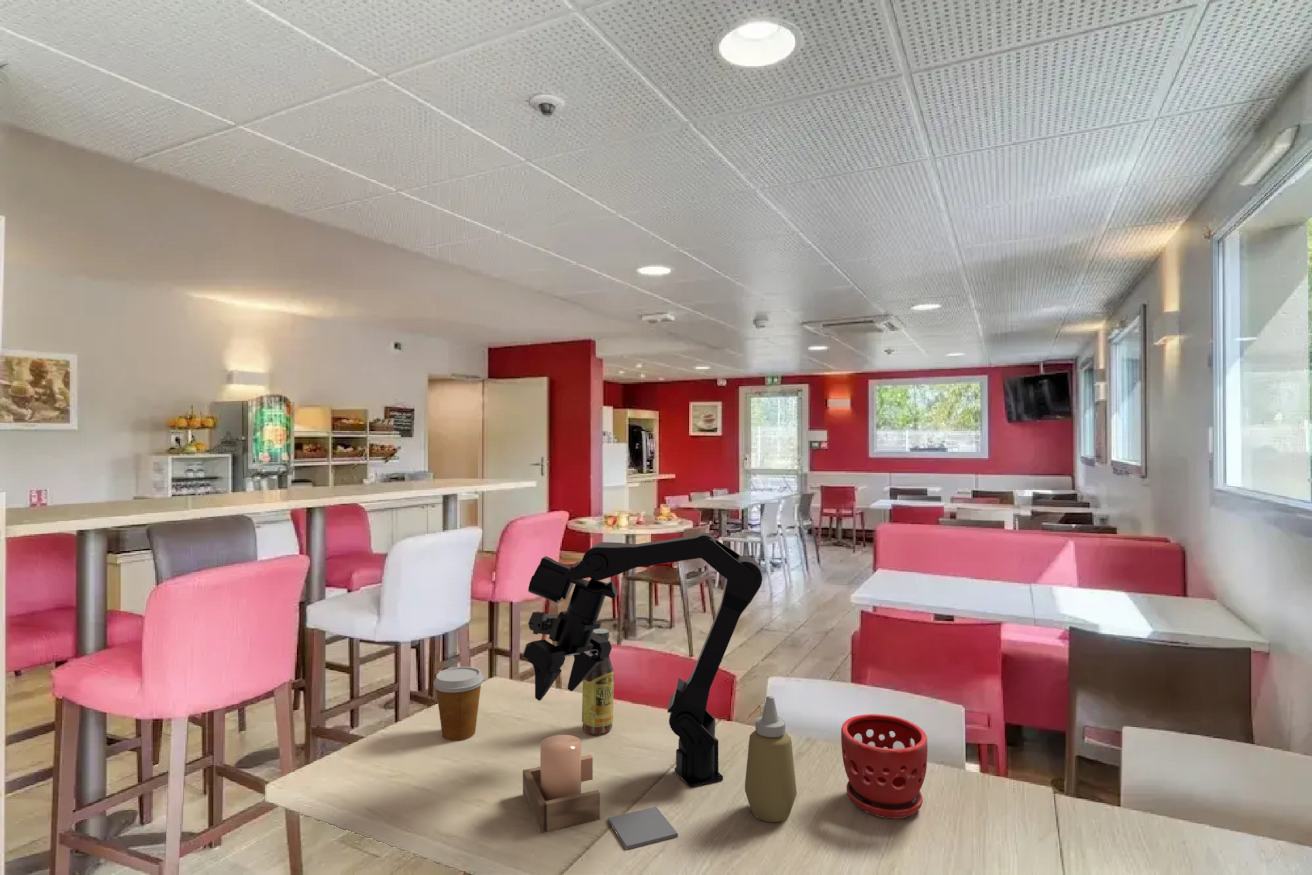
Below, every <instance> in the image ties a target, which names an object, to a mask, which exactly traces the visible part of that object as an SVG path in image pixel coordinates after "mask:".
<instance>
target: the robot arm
mask: <svg viewBox="0 0 1312 875" xmlns="http://www.w3.org/2000/svg"><path fill="white" fill-rule="evenodd" d="M696 559H702V560H703V561H704V562H706V563H707V564H708V566H710V567H711V568H712V569H713V570H715V571H716V572H717V573H718V574H719V575H721V576H722V577H723V578H725V582H724V586H723V592H722V596H721V602H720V604H719V607H718V609H717V612H716V614H715V617H714V619H713V621H712V624H711V626H710V629H709V631H708V634H707V635H706V639H705V641H704V644H703V645H702V648H701V651H700V653H699V655H698V658H697V660H696V663H695V664H694V667H693V670H692V672H691V674H690V676H688V677H687V679H686V680H685V681H684V680H682V679H681V678H679V677H678V680H677V683H676V688H675V690H674V691H673V692H674V693H672V695H671V696H670V698H669V701H668V702H669V703H668V707H667V714H668V713H669V718H668V724H669V728H670V729H671V731H672V732H673V734H675V735H676V736H678V748H676V751H675V767H674V772H675V773H676V774H677V775H678V777H680V779H682V780H683V782H684V783H685V784H686V785H687V786H688V787H689V788H692V787H693V788H694V787H697V786H702V785H706V784H710V783H711V784H712V783H714V782H715V783H716V782H719V781H723V780H724V776H723V775H722V774H721V772H719V739H717V738H716V718H715V717H714V716H713V715H712V714H711V713H710V712H709V711H708V710H707V705H708V701H709V696H710V691H711V686H712V684H713V682H714V680H715V678H716V676H717V673H718V670H719V669H720V666H721V663H722V661H723V658H724V656H725V653H726V650H727V649H728V647H729V646H728V645H729V644H730V641H731V639H732V636H733V634H734V632H735V630H736V627H737V625H738V622H739V620H740V617H741V616H742V614H743V612H745V610H746V609H747V607H749V605H750V604H751V602H752V601H753V599H754V597H755V596H756V595H757V593H758V591H759V590H760V588H761V586H762V583H763V574H762V570H761V567H760V565H759V563H758V561H757V560H755V559H754V558H753V557H751V556H748V555H740V554H739V553H737V552H736V551H735V550H733V549H732V548H731V547H729V546H727V545H726V544H724V543H723V542H721V541H719V540H718V539H716V538H715V537H714V536H713V535H712V534H711V533H708V532H701V533H698V534H695V535H688V536H683V537H682V536H681V537H675V538H668V539H662V540H654V541H649V542H648V541H647V542H642V543H626V542H614V541H613V542H610V541H607V542H605V541H602V542H598V543H596V544H594V545H593V546H592V547H590V548H589V549H587V550H586V551H585V553H584V554H583V556H582V559H581V560H580V561H576V562H575V563H573V565H571V566H570V565H568V564H565V563H561V562H559V561H556V560H554V559H553V558H551V557H549V556H547V555H546V556H543V557H542V558H541V560H540V563H539V564H538V566H537V568H536V570H535V571H534V573H533V575H532V576H531V578H530V581H529V585H528V588H527V590H528V591H527V592H528V593H530V594H533V595H536V596H538V597H541V598H544V599H546V600H548V601H551V602H554V603H556V604H559V603H560V602H561V600H562V599H563V600H565V601H566V600H568V598H569V595H570V593H571V591H572V588H573V591H572V594H571V596H570V599H569V602H568V605H567V608H566V610H563V611H560V612H559V613H558V614H552V613H551V614H550V613H546V611H541V612H540V611H533V612H532V613H531V615H530V618H529V620H528V622H527V625H528V628H529V630H530V631H532V634H533V635H540V634H541V635H549V636H548V640H551V641H552V642H555V643H556V645H554V644H553V643H551V642H549V641H547V640H546V639H544V638H543V639H539V640H533V641H530V642H528V643H526V645H525V646H524V649H523V653H522V657H524V658H525V659H526V660H527V662H529V663H530V664H531V665H532V666H533V670H534V689H535V690H534V697H535V699H536V700H537V701H539V702H540V701H542V700H543V698H544V697H545V696H546V694H547V693H548V691H549V690H550V688H552V686H553V684H554V682H555V681H556V680H557V678H558V677H559V676H560V674H561V673H562V669H561V668H562V667H563V666H564V664H565V660H566V657H572V656H573V659H574V660H573V664H572V667H571V671H570V675H569V678H568V682H567V690H568V691H570V692H573V691H575V689H576V688H577V687H578V686H579V685H580V684H581V683H583V680H584V679H585V678H586V677H587V676H588V675H589V674H590V673H591V672H592V671H593V670H594V669H595V668H596V667H597V666H598V665H599V664H600V663H601V662H603V661H604V658H608V657H610V655H611V652H612V645H611V642H610V641H609V639H608V640H606V639H605V638H603V637H601V636H600V635H598V634H596V633H594V632H593V631H594V629H601V625H602V623H601V622H600V621H598V619H599V617H600V613H601V609H602V608H603V604H604V601H605V599H606V597H607V598H611V599H616V597H617V595H618V594H619V590H618V589H617V587H616V586H615V581H614V580H610V581H608V582H604V580H605V579H606V580H607V579H609V578H613V577H615V576H617V575H621V574H623V573H626V572H628V571H630V570H633V569H637V568H640V567H641V568H642V567H647V566H654V565H662V564H663V565H664V564H667V563H668V564H669V563H676V562H683V561H688V560H689V561H690V560H696ZM587 578H590V580H587ZM574 584H575V585H574ZM573 586H574V587H573Z"/></svg>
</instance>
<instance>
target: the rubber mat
mask: <svg viewBox="0 0 1312 875" xmlns="http://www.w3.org/2000/svg"><path fill="white" fill-rule="evenodd" d="M607 821H608V823H609V824H610V826H611V827H612V826H613V828H614V829H613V828H612V829H613V830H615V831H616V832H617V834H618V835H617V834H616V835H617V837H618V836H619V837H618V839H619V840H620V839H621V840H620V841H622V842H623V843H622V842H621V843H622V845H623V844H624V845H623V846H624V848H625V847H626V848H627V849H628V850H630V849H629V848H631V849H635V848H639V847H643V846H646V845H650V844H654V843H658V842H662V841H666V840H670V839H674V838H678V836H679V835H678V832H677V830H675V828H674V826H672V824H671V823H670V822H669V820H668V819H667V818H666V817H665V816H664V814H663V812H661V811H660V809H659V808H658V807H657V806H652V807H648V808H644V809H640V810H636V811H631V812H627V813H623V814H622V813H621V814H617V815H614V816H609V817H608V819H607ZM615 831H614V832H615ZM616 832H615V833H616ZM626 848H625V849H626ZM627 849H626V850H627Z"/></svg>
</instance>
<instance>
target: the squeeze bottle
mask: <svg viewBox="0 0 1312 875" xmlns="http://www.w3.org/2000/svg"><path fill="white" fill-rule="evenodd" d="M754 727H755V730H754V731H752V732H751V733H750V735H749V739H748V740H749V741H748V750H747V759H746V760H747V761H746V769H745V771H746V772H745V779H744V780H745V781H744V792H745V795H746V798H747V802H748V805H749V807H750V810H751V813H752V814H753V816H754V817H755V818H757V819H759V820H760V821H764V822H767V823H779V822H783V821H785V820H787V819H789V816H790V815H791V812H792V809H793V806H794V803H795V800H796V798H797V795H798V794H797V793H798V792H797V784H796V782H797V781H796V774H795V773H796V771H795V763H794V762H795V761H794V754H793V743H792V737H791V736H790V735H789V734H788V733H786V720H785V719H784V718H782V717H780V716H779V715H778V710H777V706H776V701H775V697H774V696H772V695H771V696H770V695H769V696H766V697H765V703H764V708H763V711H762V715H760V716H758V717H756V719H755V725H754Z"/></svg>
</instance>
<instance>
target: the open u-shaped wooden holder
mask: <svg viewBox="0 0 1312 875" xmlns="http://www.w3.org/2000/svg"><path fill="white" fill-rule="evenodd" d="M522 795H523V798H524V800H525V802H526V804H527V806H528V807H527V808H528V809H529V811H530V813H532V814H531V815H532V818H533V820H534V822H535V824H536V827H537V829H538V831H539V833H540V834H542V833H545V832H550V830H551V831H554V830H559V829H562V828H567V827H572V826H576V825H580V824H583V823H589V822H593V821H598V820H601V806H600V805H601V799H600V798H601V796H600V795H601V792H600V791H599V789H596V790H592V791H586V792H581V794H576V795H572V796H567V797H563V798H558V799H553V800H549V801H545V800H544V798H543V796H542V794H541V766H538V767H537V766H535V767H532V768H527V769H522Z"/></svg>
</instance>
